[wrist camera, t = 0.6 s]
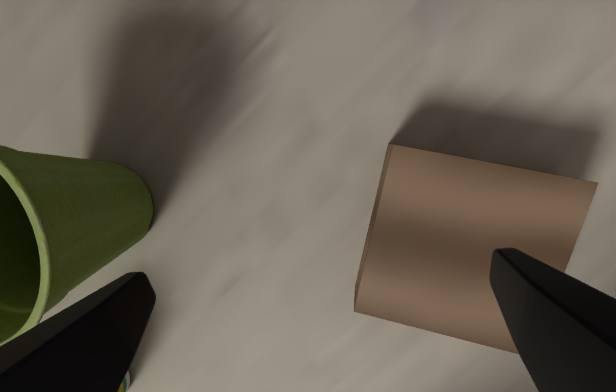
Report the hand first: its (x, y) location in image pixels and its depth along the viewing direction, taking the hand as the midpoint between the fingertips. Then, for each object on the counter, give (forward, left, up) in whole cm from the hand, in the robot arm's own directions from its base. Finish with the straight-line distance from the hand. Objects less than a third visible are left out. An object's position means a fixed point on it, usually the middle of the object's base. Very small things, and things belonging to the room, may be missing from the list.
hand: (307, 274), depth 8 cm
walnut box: (+1, -8, -16) cm, 18 cm away
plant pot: (-10, +16, -15) cm, 25 cm away
